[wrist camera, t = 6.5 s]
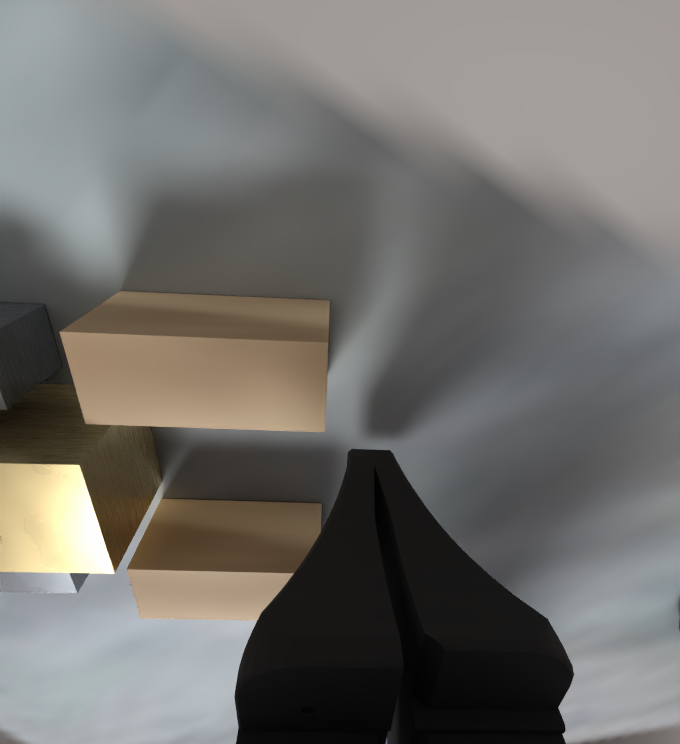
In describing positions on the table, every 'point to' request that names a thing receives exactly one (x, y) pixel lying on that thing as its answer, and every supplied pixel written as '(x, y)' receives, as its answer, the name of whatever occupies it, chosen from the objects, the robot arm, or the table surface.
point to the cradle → (6, 387)
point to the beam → (208, 410)
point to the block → (70, 485)
